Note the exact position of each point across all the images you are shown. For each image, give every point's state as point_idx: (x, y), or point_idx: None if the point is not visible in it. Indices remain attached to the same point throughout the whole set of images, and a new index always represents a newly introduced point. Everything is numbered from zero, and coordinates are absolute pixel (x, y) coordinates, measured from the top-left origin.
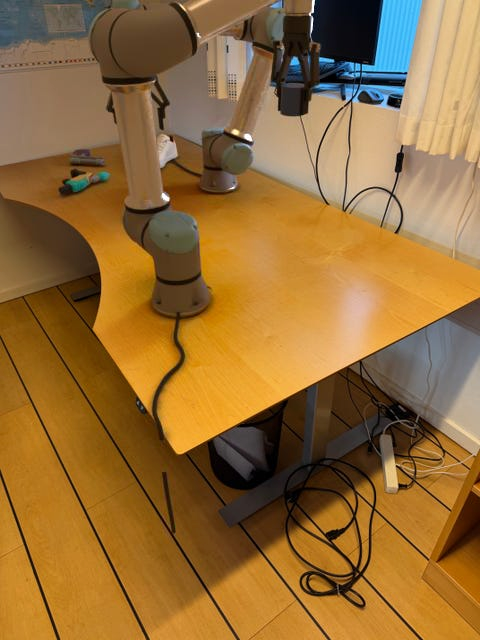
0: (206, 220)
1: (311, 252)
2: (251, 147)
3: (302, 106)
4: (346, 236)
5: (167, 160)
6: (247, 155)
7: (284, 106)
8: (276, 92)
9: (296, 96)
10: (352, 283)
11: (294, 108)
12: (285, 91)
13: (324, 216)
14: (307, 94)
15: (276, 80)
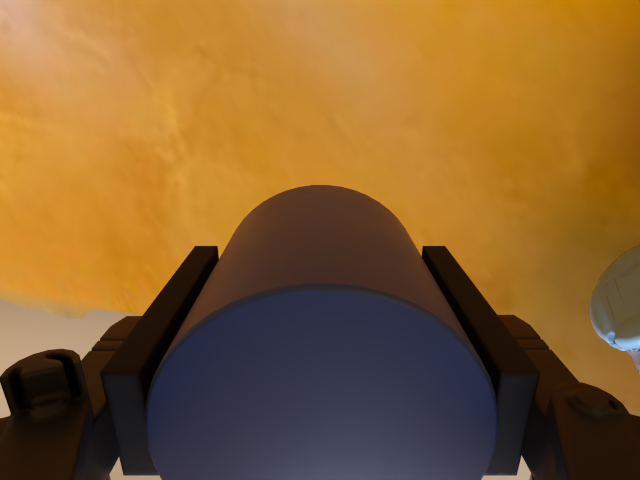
0: (574, 84)
1: (220, 115)
2: (637, 364)
3: (178, 273)
4: (211, 243)
5: None
6: (621, 319)
7: (338, 206)
8: (540, 339)
9: (209, 287)
10: (47, 41)
11: (242, 230)
12: (339, 259)
13: None
14: (101, 358)
15: (627, 424)
